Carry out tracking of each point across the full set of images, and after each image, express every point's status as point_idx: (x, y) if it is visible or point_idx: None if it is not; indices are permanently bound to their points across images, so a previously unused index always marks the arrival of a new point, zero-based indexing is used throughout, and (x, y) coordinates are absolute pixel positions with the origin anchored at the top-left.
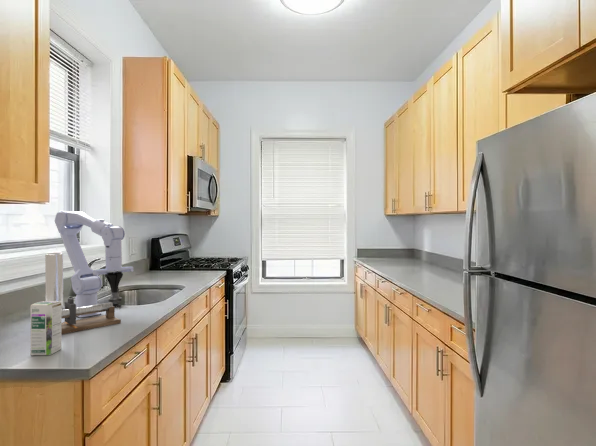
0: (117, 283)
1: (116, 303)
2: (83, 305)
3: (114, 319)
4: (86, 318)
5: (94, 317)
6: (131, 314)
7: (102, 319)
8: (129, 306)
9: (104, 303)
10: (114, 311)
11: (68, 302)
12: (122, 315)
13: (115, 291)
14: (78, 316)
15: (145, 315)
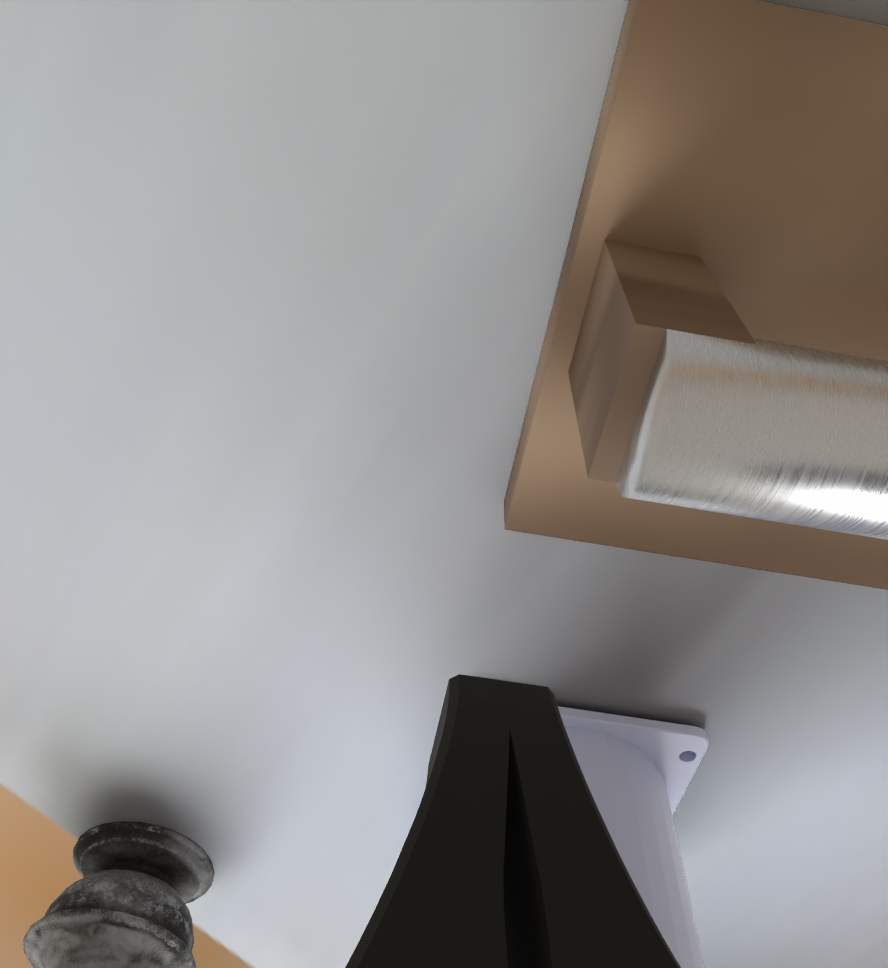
0: (452, 894)
1: (132, 873)
2: (671, 876)
3: (689, 122)
4: (820, 566)
5: (728, 530)
6: (182, 389)
7: (777, 317)
8: (15, 761)
9: (820, 476)
10: (623, 280)
11: None
12: (308, 446)
13: (500, 689)
14: (694, 769)
15: (29, 108)
